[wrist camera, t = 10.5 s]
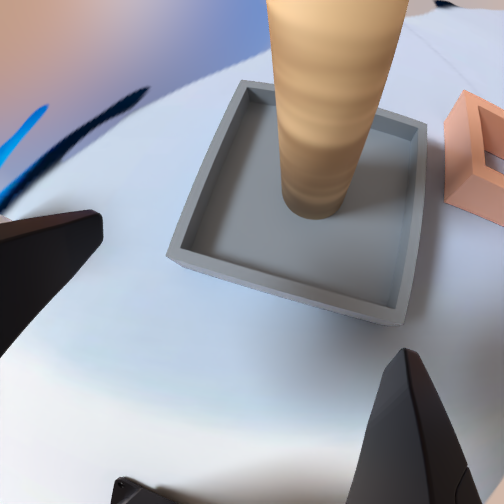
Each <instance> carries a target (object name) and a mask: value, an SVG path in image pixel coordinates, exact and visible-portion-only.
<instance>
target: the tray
mask: <svg viewBox="0 0 504 504" xmlns="http://www.w3.org/2000/svg"><path fill="white" fill-rule="evenodd" d="M426 163H427V124H425V123H422V122H420V121H417V120H414V119H411V118H408V117H405V116H403V115H400V114H396V113H393V112H390V111H387V110H384V109H381V108H377V111H376V114H375V116H374V119H373V122H372V125H371V128H370V131H369V134H368V137H367V139H366V142H365V145H364V148H363V150H362V153H361V156H360V159H359V161H358V164H357V167H356V169H355V172H354V175H353V177H352V180H351V182H350V185H349V188H348V190H347V193H346V195H345V198H344V200H343V203H342V205H341V207H340V208H339V209H338V210H337V211H336V212H335V213H334V214H333V215H331V216H329V217H327V218H324V219H320V220H310V219H305V218H302V217H300V216H298V215H296V214H295V213H293V212H292V211H291V210H290V209H289V208H288V207H287V205H286V204H285V202H284V199H283V196H282V186H281V169H280V153H279V138H278V124H277V110H276V97H275V85H274V84H269V83H262V82H255V81H247V80H241V81H240V83H239V85H238V87H237V89H236V91H235V93H234V95H233V97H232V99H231V101H230V103H229V105H228V107H227V109H226V112H225V114H224V116H223V118H222V120H221V122H220V124H219V127H218V129H217V131H216V133H215V135H214V137H213V140H212V142H211V144H210V146H209V149H208V151H207V153H206V155H205V158H204V160H203V162H202V165H201V167H200V169H199V172H198V174H197V176H196V179H195V181H194V184H193V186H192V188H191V191H190V193H189V196H188V198H187V201H186V203H185V206H184V208H183V211H182V213H181V216H180V219H179V221H178V224H177V226H176V229H175V232H174V234H173V237H172V240H171V242H170V245H169V248H168V250H167V253H166V257H168V258H169V259H171V260H173V261H174V262H176V263H177V264H179V265H181V266H182V267H185V268H188V269H191V270H194V271H197V272H200V273H203V274H207V275H210V276H213V277H216V278H219V279H223V280H226V281H229V282H232V283H236V284H239V285H242V286H245V287H249V288H252V289H255V290H259V291H262V292H265V293H269V294H272V295H276V296H279V297H282V298H286V299H289V300H293V301H296V302H300V303H303V304H307V305H310V306H314V307H317V308H321V309H325V310H328V311H332V312H335V313H339V314H343V315H346V316H350V317H354V318H358V319H361V320H365V321H369V322H373V323H377V324H380V325H384V326H394V325H403V324H404V320H405V316H406V312H407V307H408V303H409V298H410V293H411V289H412V283H413V278H414V273H415V267H416V261H417V255H418V248H419V241H420V234H421V226H422V217H423V207H424V196H425V182H426Z"/></svg>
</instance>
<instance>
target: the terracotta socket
mask: <svg viewBox="0 0 504 504" xmlns="http://www.w3.org/2000/svg"><path fill="white" fill-rule="evenodd" d="M444 138H445V187H444V202H445V203H447V204H450V205H453V206H455V207H458V208H460V209H463V210H465V211H468V212H470V213H473V214H475V215H478V216H480V217H482V218H485V219H487V220H489V221H492V222H494V223H496V224H498V225H501V226H503V227H504V174H502V173H500V172H498V171H496V170H494V169H492V168H489V167H487V166H485V155H484V150H485V151H488V152H490V153H492V154H494V155H496V156H497V157H499V158H501V159H503V160H504V110H503V109H501V108H499V107H498V106H496V105H494V104H492V103H490V102H488V101H486V100H484V99H482V98H480V97H478V96H476V95H474V94H472V93H470V92H468V91H466V90H463V91H462V93H461V95H460V97H459V98H458V100H457V102H456V103H455V105H454V107H453V108H452V110H451V112H450V113H449V115H448V116H447V118H446V120H445V121H444Z"/></svg>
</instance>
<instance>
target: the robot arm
mask: <svg viewBox="0 0 504 504" xmlns="http://www.w3.org/2000/svg"><path fill="white" fill-rule="evenodd" d="M102 241H103V219H102V215H101V214H100V213H98V212H96V211H94V210H83V211H75V212H68V213H61V214H54V215H47V216H41V217H34V218H28V219H22V220H16V221H11V222H5V223H0V358H1V357H2V355H3V354H4V353H5V352H6V351H7V349H8V348H9V347H10V346H11V345H12V343H13V342H14V341H15V340H16V339H17V337H18V336H19V335H20V334H21V333H22V332H23V330H24V329H25V328H26V327H27V326H28V325H29V324H30V322H31V321H32V320H33V319H34V318H35V317H36V316H37V315H38V314H39V312H40V311H41V310H42V309H43V308H44V307H45V306H46V305H47V304H48V303H49V302H50V301H51V299H52V298H53V297H54V296H55V295H56V294H57V293H58V292H59V291H60V290H61V289H62V288H63V287H64V286H65V285H66V284H67V283H68V282H69V281H70V280H71V279H72V278H73V276H74V275H75V274H76V273H77V272H78V271H79V269H80V268H81V267H82V266H83V265H84V263H85V262H86V261H87V260H88V259H89V257H90V256H91V255H92V254H93V253H94V252H95V251H96V249H97V248H98V247H99V246H100V245H101V243H102ZM121 483H123V484H124V486H123V485H122V484H121ZM111 504H178V503H175V502H173V501H171V500H168V499H166V498H164V497H162V496H159V495H157V494H155V493H153V492H151V491H149V490H147V489H145V488H143V487H141V486H139V485H137V484H135V483H133V482H131V481H129V480H127V479H126V478H123V477H119V478H118V479H116V480H115V483H114V488H113V493H112V498H111ZM346 504H482V502H481V500H480V497H479V494H478V492H477V489H476V486H475V483H474V481H473V478H472V475H471V472H470V470H469V467H467V462H466V459H465V456H464V454H463V451H462V449H461V446H460V444H459V441H458V439H457V436H456V434H455V431H454V429H453V427H452V424H451V422H450V420H449V417H448V415H447V413H446V411H445V408H444V406H443V404H442V402H441V400H440V397H439V395H438V393H437V391H436V389H435V387H434V385H433V383H432V380H431V378H430V376H429V374H428V372H427V370H426V368H425V366H424V364H423V362H422V360H421V358H420V356H419V355H418V353H417V352H415V351H413V350H410V349H408V348H402V349H401V350H400V351H399V352H398V353H397V355H396V356H395V357H394V358H393V360H392V361H391V362H390V363H389V364H388V366H387V367H386V368H385V370H384V372H383V375H382V379H381V382H380V386H379V389H378V392H377V396H376V399H375V402H374V405H373V409H372V412H371V415H370V418H369V421H368V424H367V428H366V432H365V436H364V440H363V445H362V449H361V453H360V457H359V460H358V464H357V468H356V471H355V475H354V478H353V482H352V485H351V488H350V492H349V495H348V498H347V501H346Z"/></svg>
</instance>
